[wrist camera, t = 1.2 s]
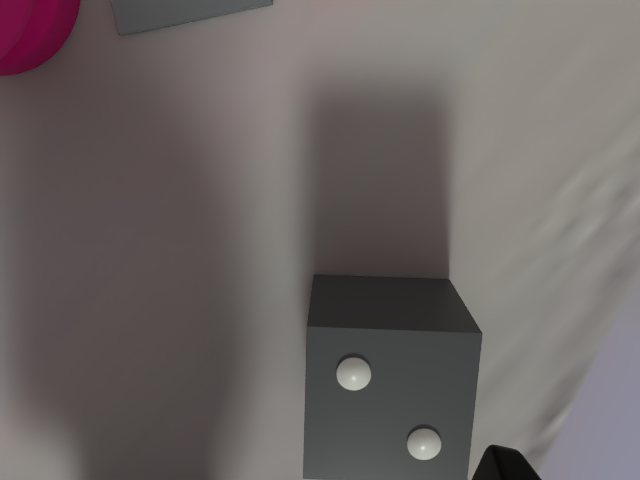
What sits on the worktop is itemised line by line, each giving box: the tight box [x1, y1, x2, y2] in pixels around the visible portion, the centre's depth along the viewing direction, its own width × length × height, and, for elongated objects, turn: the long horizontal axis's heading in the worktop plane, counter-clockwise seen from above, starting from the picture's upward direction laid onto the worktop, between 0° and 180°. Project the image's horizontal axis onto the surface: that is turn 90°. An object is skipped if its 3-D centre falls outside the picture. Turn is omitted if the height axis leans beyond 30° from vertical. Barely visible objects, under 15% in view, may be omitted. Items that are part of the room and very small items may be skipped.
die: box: [303, 275, 482, 480], centre depth 19 cm, size 5×5×5 cm
